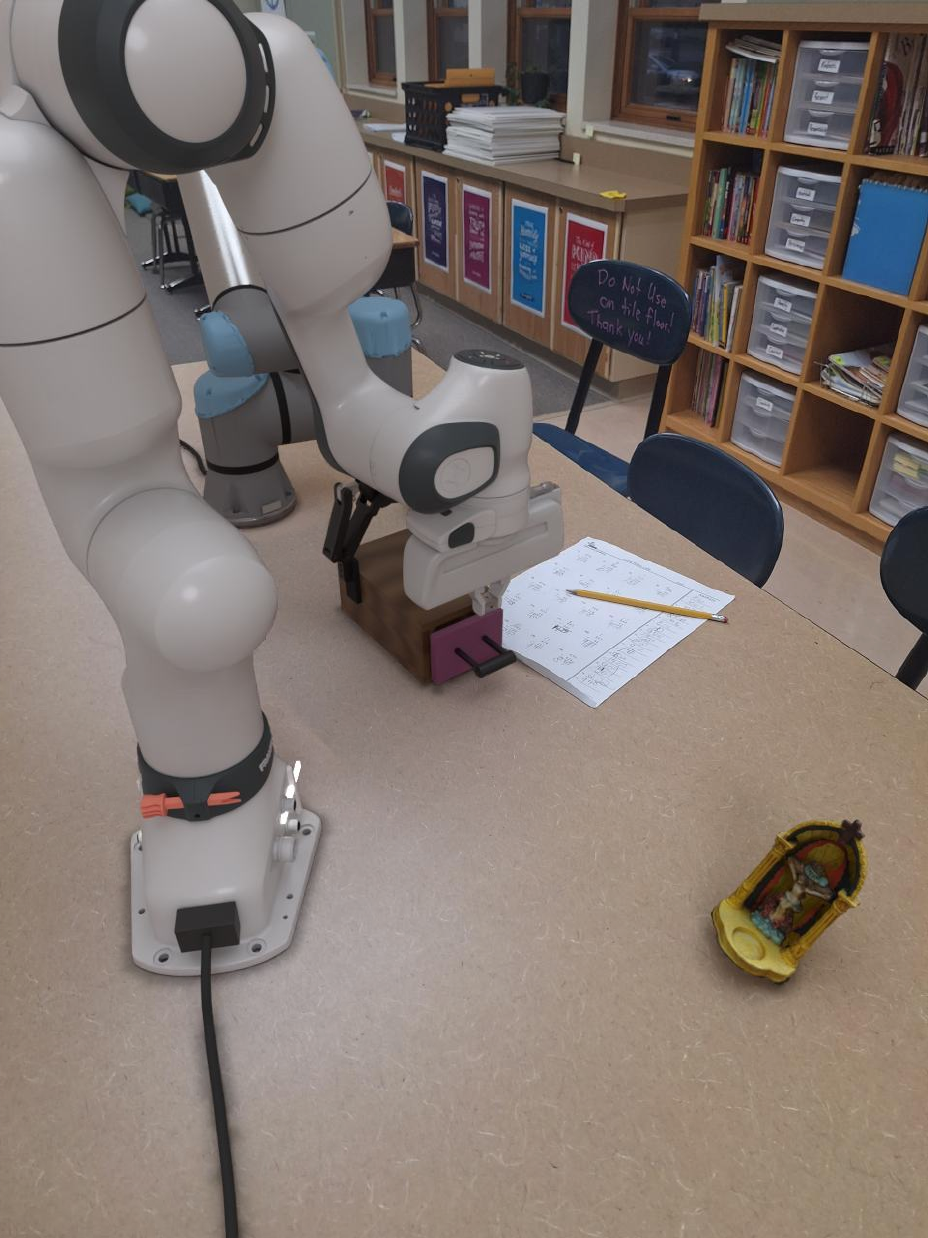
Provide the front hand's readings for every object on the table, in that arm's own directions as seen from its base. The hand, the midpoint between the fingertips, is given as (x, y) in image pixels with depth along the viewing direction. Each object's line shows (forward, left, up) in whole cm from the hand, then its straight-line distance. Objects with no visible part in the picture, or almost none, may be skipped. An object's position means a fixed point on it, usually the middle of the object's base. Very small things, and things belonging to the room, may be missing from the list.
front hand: (486, 609), depth 99 cm
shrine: (-39, -20, -12) cm, 45 cm away
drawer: (+8, +5, -11) cm, 14 cm away
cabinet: (+13, +8, -12) cm, 19 cm away
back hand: (+18, +10, -7) cm, 22 cm away
